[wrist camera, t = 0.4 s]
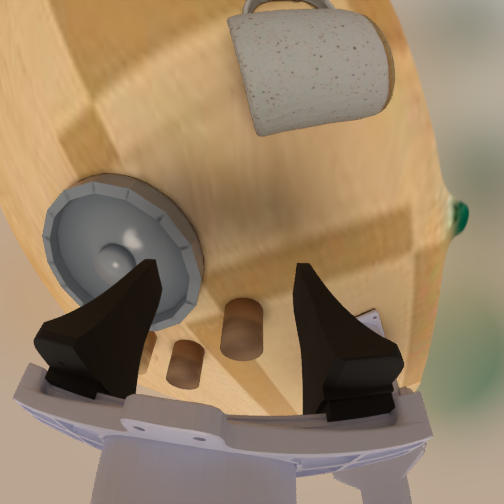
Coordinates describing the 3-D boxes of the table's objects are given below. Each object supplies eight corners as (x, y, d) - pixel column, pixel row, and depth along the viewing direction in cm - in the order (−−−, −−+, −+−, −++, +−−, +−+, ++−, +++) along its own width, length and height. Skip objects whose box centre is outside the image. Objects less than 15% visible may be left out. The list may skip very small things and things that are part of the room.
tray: (238, 284, 26) (237, 301, 24) (126, 329, 31) (121, 343, 29) (126, 134, 18) (113, 140, 16) (34, 231, 23) (23, 242, 21)
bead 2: (210, 353, 33) (205, 386, 29) (187, 360, 34) (181, 391, 30) (191, 336, 31) (183, 371, 27) (167, 344, 32) (159, 376, 28)
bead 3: (269, 316, 29) (270, 354, 25) (237, 327, 30) (234, 364, 26) (250, 292, 27) (249, 331, 23) (217, 305, 28) (211, 343, 24)
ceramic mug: (363, 111, 17) (415, 126, 10) (255, 129, 18) (253, 149, 12) (330, -13, 11) (364, -54, 5) (219, 2, 13) (197, -41, 6)
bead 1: (162, 339, 32) (153, 372, 28) (142, 345, 33) (132, 376, 29) (141, 320, 30) (128, 353, 26) (121, 327, 31) (109, 358, 27)
